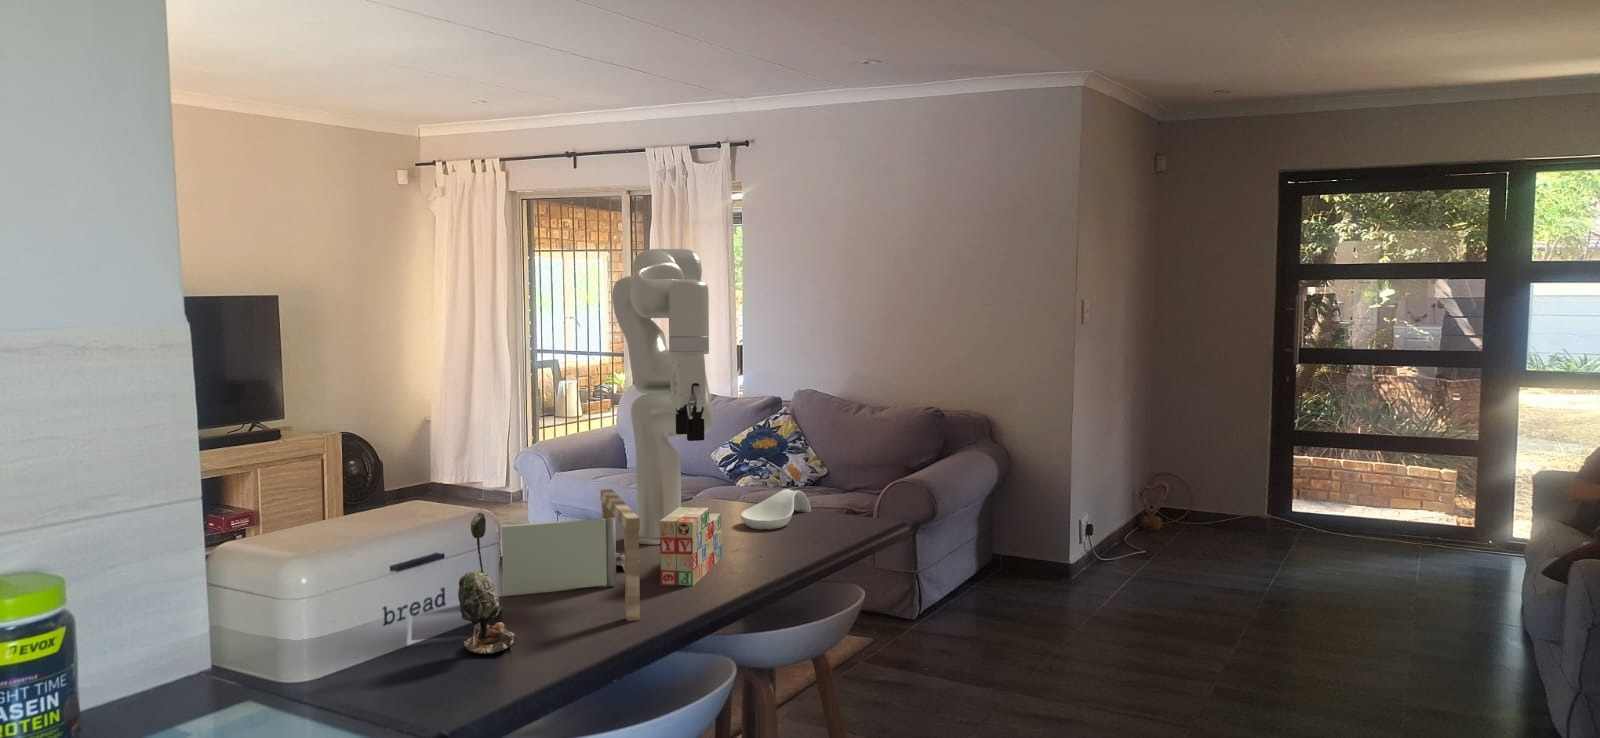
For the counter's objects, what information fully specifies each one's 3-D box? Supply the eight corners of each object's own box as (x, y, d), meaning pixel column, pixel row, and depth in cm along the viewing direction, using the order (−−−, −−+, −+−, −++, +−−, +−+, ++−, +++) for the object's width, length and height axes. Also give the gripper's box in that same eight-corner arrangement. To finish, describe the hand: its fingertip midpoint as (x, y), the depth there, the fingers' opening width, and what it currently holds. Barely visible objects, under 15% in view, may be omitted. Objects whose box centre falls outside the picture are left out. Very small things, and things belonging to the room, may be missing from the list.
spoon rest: (777, 537, 238) (777, 504, 238) (731, 532, 243) (730, 500, 243) (824, 517, 259) (823, 487, 259) (780, 513, 264) (780, 483, 264)
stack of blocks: (692, 558, 219) (691, 497, 218) (722, 559, 218) (721, 498, 217) (660, 586, 198) (659, 519, 197) (693, 587, 197) (692, 520, 196)
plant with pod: (440, 656, 160) (437, 521, 158) (484, 633, 170) (481, 507, 169) (489, 661, 157) (485, 525, 156) (530, 637, 168) (527, 509, 167)
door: (615, 582, 198) (614, 517, 197) (616, 584, 197) (615, 519, 196) (503, 592, 192) (501, 525, 191) (503, 594, 190) (502, 527, 190)
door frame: (602, 580, 202) (600, 489, 201) (612, 579, 202) (611, 488, 201) (628, 623, 175) (627, 518, 174) (641, 621, 176) (639, 518, 175)
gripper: (659, 344, 211) (660, 432, 213) (679, 348, 195) (680, 444, 196) (697, 343, 214) (698, 430, 215) (720, 348, 197) (720, 442, 199)
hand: (689, 436), depth 206 cm, fingers open, 8 cm apart
